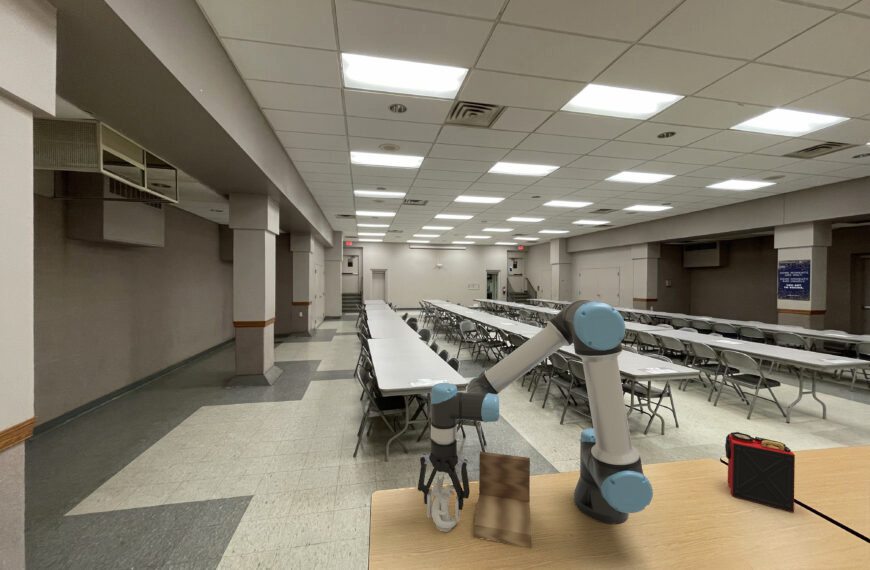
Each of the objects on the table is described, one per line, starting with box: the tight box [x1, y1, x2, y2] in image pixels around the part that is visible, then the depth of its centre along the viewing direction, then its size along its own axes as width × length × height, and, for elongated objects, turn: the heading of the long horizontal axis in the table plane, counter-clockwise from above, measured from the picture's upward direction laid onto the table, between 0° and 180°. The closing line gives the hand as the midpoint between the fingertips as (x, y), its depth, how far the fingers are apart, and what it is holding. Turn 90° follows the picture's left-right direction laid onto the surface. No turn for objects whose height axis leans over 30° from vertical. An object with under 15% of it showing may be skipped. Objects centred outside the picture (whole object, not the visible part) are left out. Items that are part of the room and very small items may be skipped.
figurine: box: [429, 473, 457, 533], centre depth 96 cm, size 11×8×12 cm
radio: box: [724, 431, 796, 513], centre depth 108 cm, size 16×10×20 cm, turn 58°
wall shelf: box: [473, 451, 533, 549], centre depth 95 cm, size 15×15×16 cm
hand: (443, 516), depth 96 cm, fingers closed on figurine, 8 cm apart
